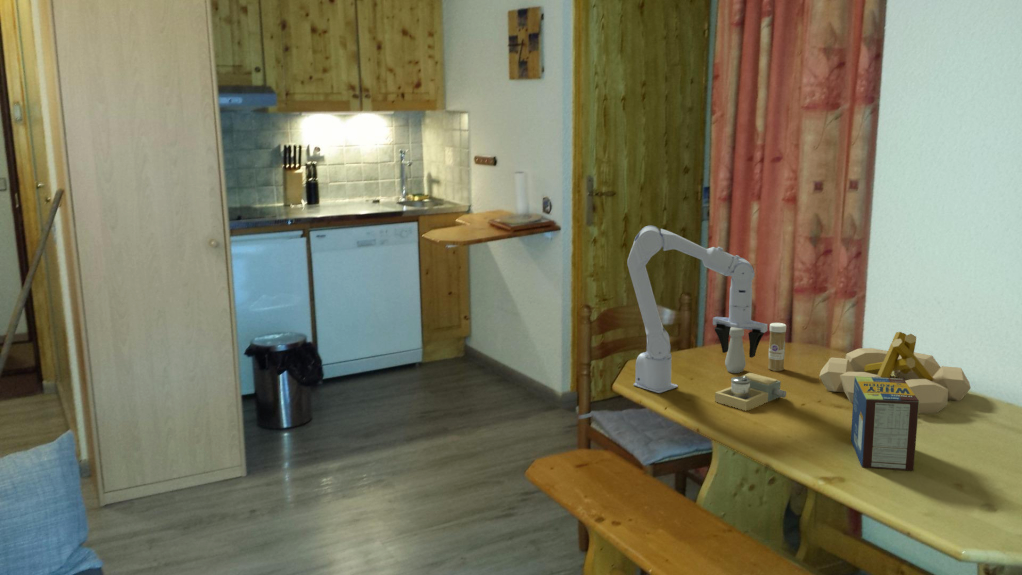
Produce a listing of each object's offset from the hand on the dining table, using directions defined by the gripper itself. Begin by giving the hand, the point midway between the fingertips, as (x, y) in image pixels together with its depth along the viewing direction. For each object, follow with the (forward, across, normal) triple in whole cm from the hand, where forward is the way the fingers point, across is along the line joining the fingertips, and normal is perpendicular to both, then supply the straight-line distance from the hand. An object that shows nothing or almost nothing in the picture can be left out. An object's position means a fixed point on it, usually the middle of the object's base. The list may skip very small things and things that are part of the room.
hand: (738, 354), depth 228 cm
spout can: (+9, +5, -9) cm, 14 cm away
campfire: (+10, +34, +22) cm, 41 cm away
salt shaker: (+10, -7, +15) cm, 19 cm away
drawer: (+10, +7, -6) cm, 14 cm away
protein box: (+10, +43, -23) cm, 50 cm away
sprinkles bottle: (+10, +2, +23) cm, 25 cm away
